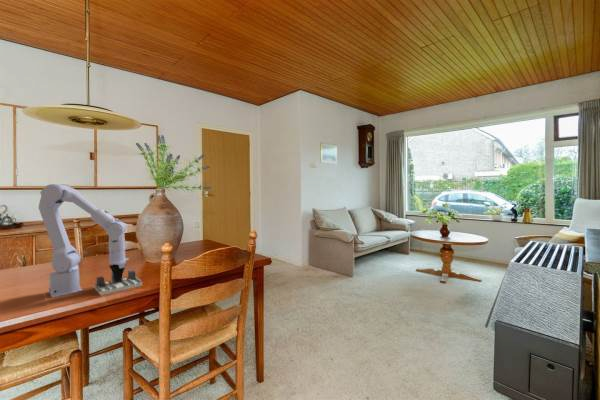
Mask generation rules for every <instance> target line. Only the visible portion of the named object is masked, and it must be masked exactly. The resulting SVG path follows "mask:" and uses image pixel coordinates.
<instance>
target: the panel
mask: <svg viewBox="0 0 600 400" xmlns="http://www.w3.org/2000/svg"><path fill="white" fill-rule="evenodd" d="M127 275H128V276H126V278H122V282H118V283H112V280H109V281H107V282H105V278H104V276H97V277H96V283H95V284H94V285H93V286H94V287H93V288H94V290H95V291H96V292H97V293H98V295H99V296H100V297H101V296H105V295H110V294H114V293H118V292H121V291H126V290H129V289H134V288H139V287H143V282H142V280H141V279H140V278H138V277H137V276H136V271H135V270H132V269H131V270H128V273H127Z"/></svg>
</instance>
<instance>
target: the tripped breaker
mask: <svg viewBox="0 0 600 400" xmlns="http://www.w3.org/2000/svg"><path fill="white" fill-rule="evenodd" d="M110 274H111V281H112V283H118V282H122V280H121V281H118V282H115V280H114V276H113V273H112V272H111V273H110Z"/></svg>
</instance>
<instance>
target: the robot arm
mask: <svg viewBox="0 0 600 400" xmlns="http://www.w3.org/2000/svg"><path fill="white" fill-rule="evenodd" d="M64 202H67V203H73V204H75V205H76V207H77V206H78V207H79V208H80V209H82V210H83V211H84V212H86V213H87V214H89V215H90V218H91V221H93V222H95V223H96V224H97V225H98V226H100V227H101V228H102V229H104V230H105V233H106V234H107V235H108V253H109V254H108V257H109V259H108V264H110V265H108V268H110V270H111V273H113V276H114V280H115V282H118V281H121V280H122V279H123V273H124V271H125V268H126V266H127V264H126V262H127V261H129V258H128V257H126V239H125V237H126V236H125V232H126V230H127V225H126V224H125V222H124V221H123V220H119V219H118V218H115V217H114V216H113V215H112V214H110V211H109V210H108V209H103V208H101V209H100V208H97V207H96V206H95V205H94V204H93V203H92V202H90V200H88V199H87V198H86V197H84V196H83V194H81V193H80V192H79V191H78V190H77V189H75V188H73V187H72V186H70V185H69V184H66V183H62V184H55V183H51V184H48V185H46V186H44V188H42V190H41V191H40V199H39V203H38V210H39V213H40V215H41V218H42V222H43V223H44V227H45V229H46V232H47V234H48V238H49V241H50V242H51V246H52V249H53V252H52V255H51V258H52V264H51V266H52V269H53V270H54V272H50V273H48V284H49V285H48V286H49V287H48V292H49V294H50V297H51V298H57V297H61V296H66V295H71V294H74V293H79V292H82V291H83V289H82V287H81V286H80V266H79V264H80V263H81V261H82V255H81V254H80V252H78V251H77V249H76V247H75V246H73V245H71V242H70V240H69V236H68V233H67V231H66V228H65V226H64V223H63V220H62V217H61V215H60V212H59V208H60V207H61V205H63V203H64Z"/></svg>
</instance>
